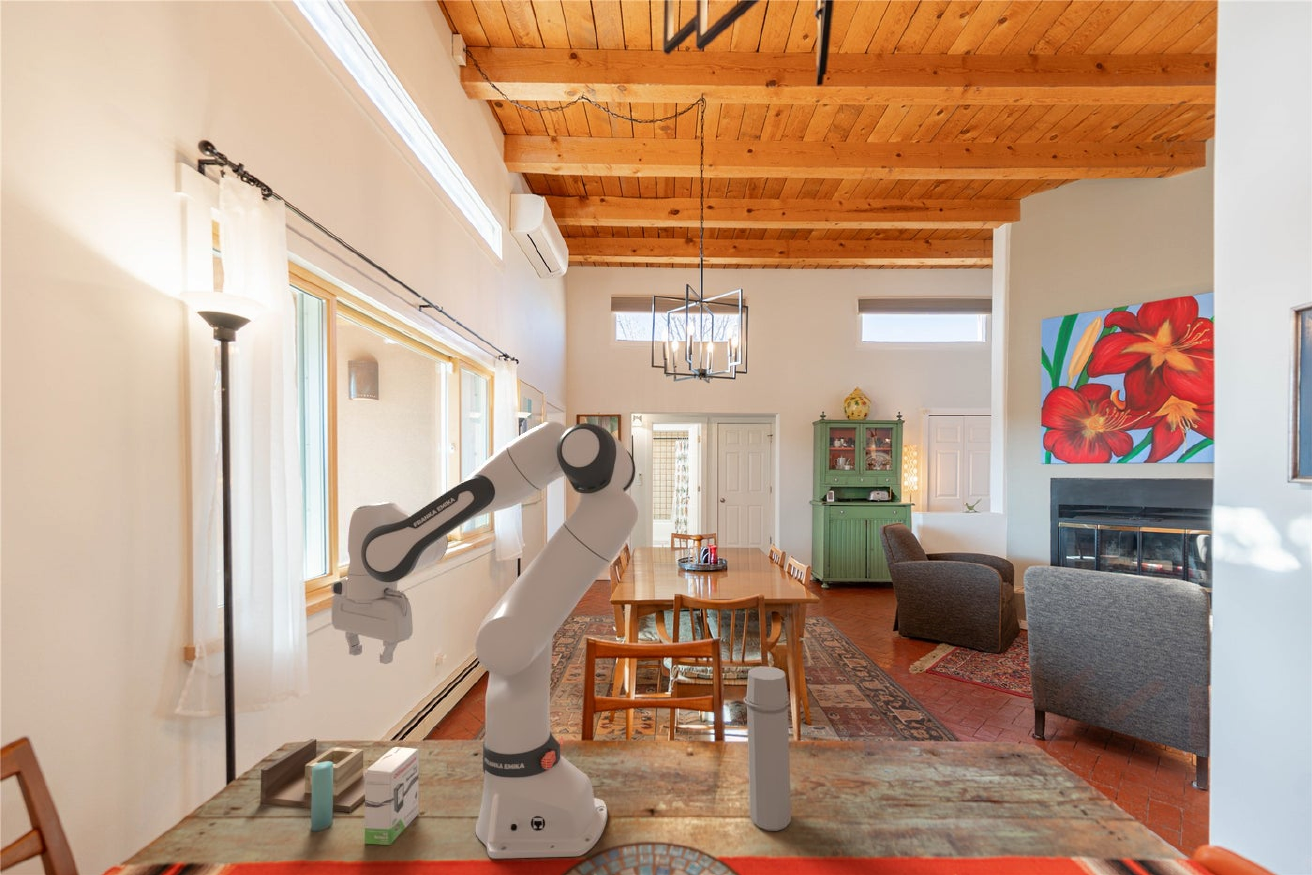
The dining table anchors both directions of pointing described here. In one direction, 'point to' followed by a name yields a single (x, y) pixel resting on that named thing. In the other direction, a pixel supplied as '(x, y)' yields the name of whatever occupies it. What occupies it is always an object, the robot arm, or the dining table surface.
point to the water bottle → (768, 748)
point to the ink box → (391, 795)
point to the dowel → (322, 796)
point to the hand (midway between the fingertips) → (370, 658)
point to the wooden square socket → (338, 768)
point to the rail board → (302, 782)
